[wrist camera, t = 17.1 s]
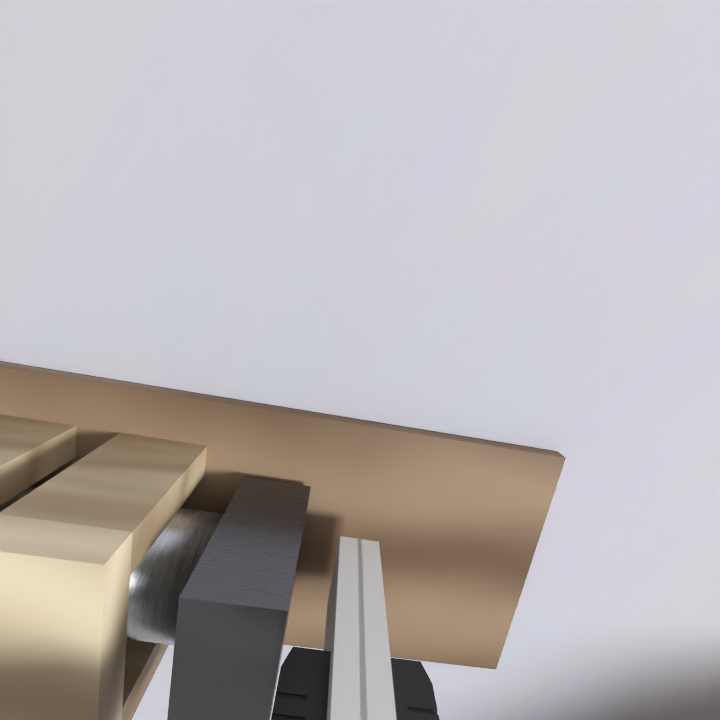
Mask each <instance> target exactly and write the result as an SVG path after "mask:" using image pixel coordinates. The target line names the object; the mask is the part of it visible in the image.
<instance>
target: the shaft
mask: <svg viewBox="0 0 720 720" xmlns="http://www.w3.org/2000/svg"><path fill="white" fill-rule="evenodd" d="M35 489H36V488H35V487H28V488H27V489H25V490H24V491H22V492H21V493H19V494H17V495H16V496H14V497H13V498H11V499H10V500H8V501H6V502H5V503H3V504H2V505H0V512H1V511H3V510H4V509H6V508H7V507H9V506H10V505H12V504H13V503H15V502H16V501H18V500H19V499H21V498H22V497H24V496H25V495H27V494H28V493H30V492H32V491H33V490H35ZM310 490H311V486H305V485H298V484H291V483H285V482H278V481H271V480H264V479H258V478H251V477H244V478H243V480H242V481H241V483H240V485H239V487H238V489H237V491H236V493H235V494H234V496H233V498H232V500H231V502H230V504H229V506H228V507H227V509H226V511H225V513H224V514H221V513H214V512H207V511H199V510H192V509H185V508H180V509H179V510H178V512H177V513H176V514H175V516H174V517H173V518H172V520H171V521H170V522H169V524H168V525H167V526H166V528H165V529H164V530H163V532H162V533H161V534H160V536H159V537H158V538H157V540H156V541H155V542H154V544H153V545H152V546H151V548H150V549H149V550H148V552H147V553H146V555H145V556H144V557H143V559H142V560H141V561H140V563H139V564H138V565H137V567H136V568H135V569H134V571H133V572H132V573H131V575H130V588H129V605H128V622H127V638H126V640H135V641H144V642H153V643H161V644H170V645H174V656H173V666H172V677H171V688H170V698H169V709H168V720H270V716H271V711H272V705H273V700H274V694H275V689H276V683H277V678H278V672H279V666H280V661H281V655H282V650H283V644H284V639H285V633H286V628H287V622H288V617H289V611H290V605H291V600H292V594H293V588H294V582H295V577H296V571H297V565H298V559H299V553H300V548H301V542H302V536H303V530H304V524H305V519H306V513H307V507H308V501H309V495H310Z"/></svg>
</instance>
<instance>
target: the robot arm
mask: <svg viewBox="0 0 720 720" xmlns="http://www.w3.org/2000/svg"><path fill="white" fill-rule="evenodd" d="M271 720H439V716H438V715H437V706H436V701H435V696H434V691H433V686H432V683H431V681H430V679H429V677H428V675H427V673H426V671H425V669H424V668H423V666H422V664H421V662H419V661H411V660H403V659H395V658H390V647H389V637H388V627H387V617H386V607H385V596H384V586H383V576H382V566H381V556H380V546H379V542H378V541H371V540H364V539H357V538H350V537H343V536H340V539H339V545H338V550H337V555H336V560H335V565H334V571H333V576H332V581H331V586H330V591H329V596H328V602H327V614H326V626H325V639H324V651H322V650H314V649H307V648H299V647H293V648H292V649H291V651H290V653H289V654H288V656H287V658H286V659H285V661H284V663H283V664H282V666H281V670H280V676H279V681H278V686H277V691H276V697H275V702H274V707H273V713H272V718H271Z"/></svg>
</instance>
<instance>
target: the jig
mask: <svg viewBox="0 0 720 720" xmlns="http://www.w3.org/2000/svg"><path fill="white" fill-rule="evenodd" d="M564 461H565V457H564V456H562V455H561V454H560V453H559V452H556V451H550V450H544V449H538V448H532V447H525V446H519V445H513V444H507V443H501V442H494V441H488V440H482V439H476V438H470V437H464V436H457V435H451V434H445V433H439V432H433V431H427V430H420V429H414V428H408V427H402V426H396V425H390V424H383V423H377V422H371V421H365V420H359V419H353V418H346V417H340V416H334V415H328V414H322V413H316V412H309V411H303V410H297V409H291V408H285V407H279V406H272V405H266V404H260V403H254V402H248V401H242V400H235V399H229V398H223V397H217V396H211V395H205V394H198V393H192V392H186V391H180V390H174V389H167V388H161V387H155V386H149V385H143V384H137V383H130V382H124V381H118V380H112V379H106V378H100V377H93V376H87V375H81V374H75V373H69V372H63V371H56V370H50V369H44V368H38V367H32V366H26V365H19V364H13V363H7V362H1V361H0V505H2V504H3V503H5V502H6V501H8V500H10V499H11V498H13V497H14V496H16V495H17V494H19V493H21V492H22V491H24V490H25V489H27V488H28V487H35V488H36V489H35V490H33V491H32V492H30V493H28V494H27V495H25V496H24V497H22V498H21V499H19V500H18V501H16V502H15V503H13V504H12V505H10V506H9V507H7V508H6V509H4V510H3V511H1V512H0V720H131V719H132V717H133V715H134V713H135V711H136V709H137V707H138V705H139V703H140V701H141V699H142V697H143V695H144V693H145V691H146V689H147V687H148V685H149V683H150V681H151V679H152V677H153V675H154V673H155V671H156V669H157V667H158V665H159V663H160V661H161V659H162V657H163V655H164V653H165V651H166V649H167V647H168V645H169V644H161V643H153V642H144V641H135V640H126V638H127V622H128V605H129V588H130V575H131V573H132V572H133V571H134V569H135V568H136V567H137V565H138V564H139V563H140V561H141V560H142V559H143V557H144V556H145V555H146V553H147V552H148V550H149V549H150V548H151V546H152V545H153V544H154V542H155V541H156V540H157V538H158V537H159V536H160V534H161V533H162V532H163V530H164V529H165V528H166V526H167V525H168V524H169V522H170V521H171V520H172V518H173V517H174V516H175V514H176V513H177V512H178V510H179V509H180V508H185V509H192V510H199V511H207V512H214V513H221V514H224V513H225V511H226V509H227V507H228V506H229V504H230V502H231V500H232V498H233V496H234V494H235V493H236V491H237V489H238V487H239V485H240V483H241V481H242V480H243V478H244V477H251V478H258V479H264V480H271V481H278V482H285V483H291V484H298V485H305V486H311V490H310V495H309V501H308V507H307V513H306V519H305V524H304V530H303V536H302V542H301V548H300V553H299V559H298V565H297V571H296V577H295V582H294V588H293V594H292V600H291V605H290V611H289V617H288V622H287V628H286V633H285V639H284V645H292V646H301V647H309V648H318V649H324V639H325V626H326V614H327V602H328V596H329V591H330V586H331V581H332V576H333V571H334V565H335V560H336V555H337V550H338V545H339V539H340V536H343V537H350V538H357V539H364V540H371V541H378V542H379V546H380V556H381V566H382V576H383V586H384V596H385V607H386V617H387V627H388V637H389V647H390V657H395V658H403V659H412V660H420V661H429V662H437V663H446V664H455V665H463V666H472V667H480V668H489V669H496V668H497V665H498V661H499V658H500V655H501V652H502V649H503V646H504V643H505V640H506V637H507V634H508V631H509V628H510V625H511V622H512V619H513V616H514V613H515V610H516V607H517V604H518V601H519V598H520V595H521V592H522V589H523V586H524V583H525V580H526V577H527V573H528V570H529V567H530V564H531V561H532V558H533V555H534V552H535V549H536V546H537V543H538V540H539V537H540V534H541V531H542V528H543V525H544V522H545V519H546V516H547V513H548V510H549V507H550V504H551V501H552V498H553V495H554V492H555V489H556V485H557V482H558V479H559V476H560V473H561V470H562V467H563V464H564Z"/></svg>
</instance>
